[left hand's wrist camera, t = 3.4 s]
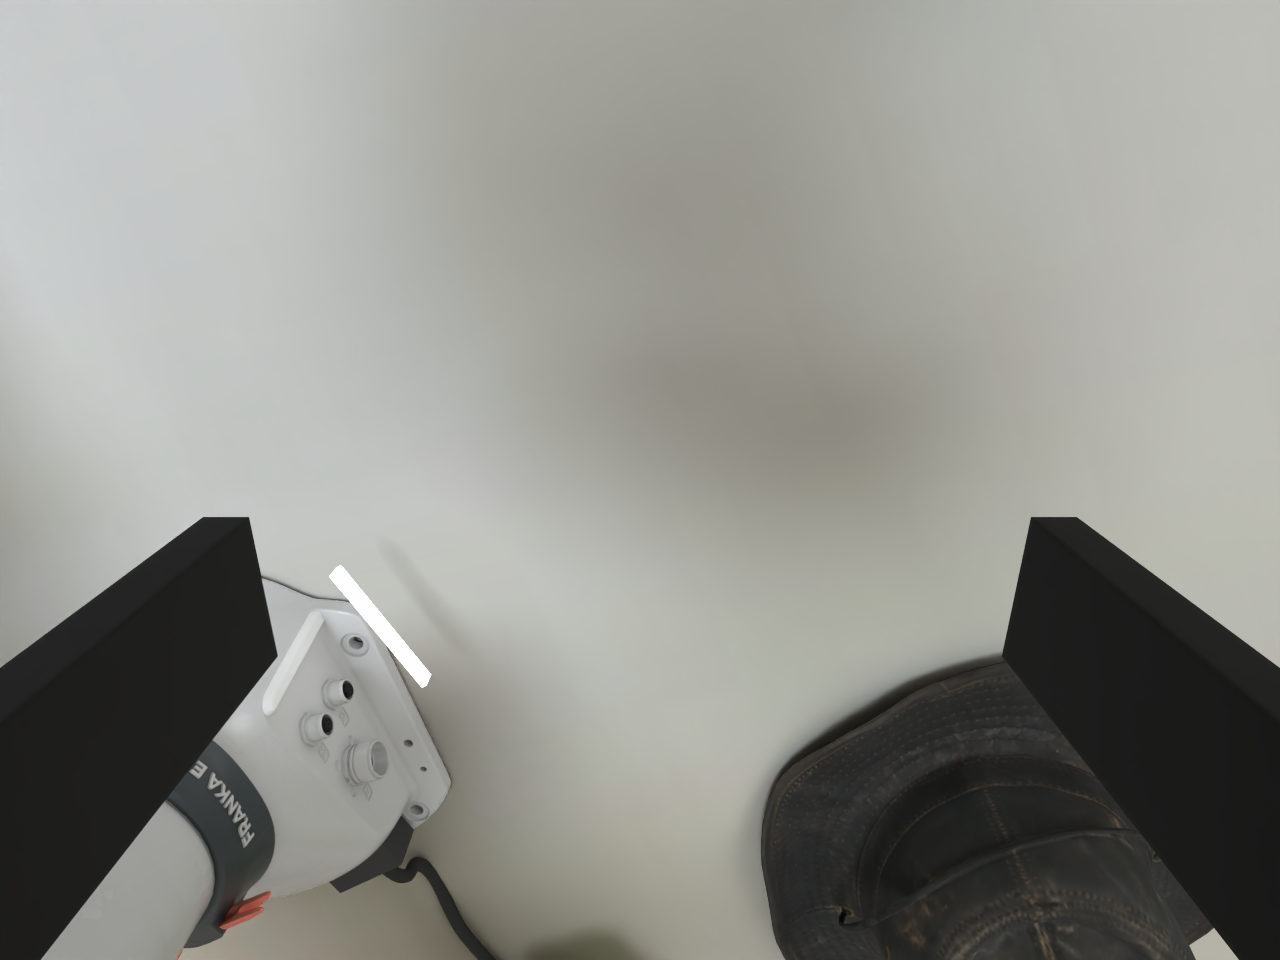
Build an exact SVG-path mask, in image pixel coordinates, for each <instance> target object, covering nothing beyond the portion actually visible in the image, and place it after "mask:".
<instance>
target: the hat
mask: <svg viewBox="0 0 1280 960" xmlns="http://www.w3.org/2000/svg"><path fill="white" fill-rule="evenodd" d="M761 862H762V869H763V875H764V880H765V885H766V890H767V896H768V901H769V907H770V913H771V920H772V927H773V932H774V935H775V939H776V942H777V944H778V946H779V948H780V950H781V952H782V954H783V956H784V958H785V959H786V960H1196V959H1195V957H1194V955H1193V953H1192V951H1191V948H1190V946H1189V945H1190V944H1192V943H1193V942H1195V941H1196V940H1198V939H1199V938H1201V937H1202V936H1204V935H1205V934H1207V933H1208V932H1209V931H1211V930H1212V929H1213V928H1214V927H1213V926H1212V924H1211V923H1210V922H1209V921H1208V919H1207V918H1206V917H1205V915H1204V914H1203V913H1202V912H1201V910H1200V909H1199V908H1198V906H1197V905H1196V904H1195V903H1194V901H1193V900H1192V899H1191V898H1190V896H1189V895H1188V894H1187V892H1186V891H1185V890H1184V889H1183V887H1182V886H1181V885H1180V883H1179V882H1178V881H1177V880H1176V878H1175V877H1174V876H1173V874H1172V873H1171V872H1170V871H1169V869H1168V868H1167V867H1166V866H1165V864H1164V863H1163V862H1162V860H1161V859H1160V858H1159V857H1158V855H1157V854H1156V853H1155V851H1154V850H1153V849H1152V848H1151V846H1150V845H1149V844H1148V842H1147V841H1146V840H1145V839H1144V837H1143V836H1142V835H1141V834H1140V832H1139V831H1138V830H1137V828H1136V827H1135V826H1134V825H1133V823H1132V822H1131V821H1130V819H1129V818H1128V817H1127V816H1126V814H1125V813H1124V812H1123V810H1122V809H1121V808H1120V807H1119V805H1118V804H1117V803H1116V801H1115V800H1114V799H1113V798H1112V796H1111V795H1110V794H1109V793H1108V791H1107V790H1106V789H1105V787H1104V786H1103V785H1102V784H1101V782H1100V781H1099V780H1098V778H1097V777H1096V776H1095V775H1094V773H1093V772H1092V771H1091V769H1090V768H1089V767H1088V766H1087V764H1086V763H1085V762H1084V761H1083V759H1082V758H1081V757H1080V755H1079V754H1078V753H1077V752H1076V750H1075V749H1074V748H1073V746H1072V745H1071V744H1070V743H1069V741H1068V740H1067V739H1066V737H1065V736H1064V735H1063V734H1062V732H1061V731H1060V730H1059V729H1058V727H1057V726H1056V725H1055V723H1054V722H1053V721H1052V720H1051V718H1050V717H1049V716H1048V714H1047V713H1046V712H1045V711H1044V709H1043V708H1042V707H1041V705H1040V704H1039V703H1038V702H1037V700H1036V699H1035V698H1034V697H1033V695H1032V694H1031V693H1030V691H1029V690H1028V689H1027V688H1026V686H1025V685H1024V684H1023V682H1022V681H1021V680H1020V679H1019V677H1018V676H1017V675H1016V673H1015V672H1014V671H1013V670H1012V668H1011V667H1010V666H1009V665H1008V663H1007V662H1003V663H999V664H995V665H991V666H986V667H982V668H978V669H975V670H972V671H969V672H965V673H962V674H959V675H956V676H953V677H950V678H948V679H945V680H943V681H939V682H935V683H933V684H931V685H928V686H925V687H923V688H921V689H919V690H917V691H915V692H913V693H911V694H910V695H908V696H907V697H905V698H904V699H902V700H901V701H899V702H898V703H896V704H895V705H894V706H892V707H891V708H889V709H888V710H886V711H885V712H883V713H881V714H879V715H878V716H876V717H874V718H873V719H871V720H870V721H868V722H866V723H865V724H863V725H861V726H859V727H857V728H855V729H854V730H852V731H850V732H848V733H846V734H844V735H843V736H841V737H840V738H838V739H836V740H835V741H833V742H831V743H830V744H828V745H826V746H824V747H823V748H821V749H819V750H817V751H814V752H812V753H811V754H809V755H807V756H806V757H804V758H802V759H801V760H800V761H798V762H797V763H795V764H794V765H793V766H792V767H791V768H789V769H788V770H787V771H786V772H785V773H784V774H783V775H782V776H781V777H780V779H779V780H778V782H777V783H776V785H775V787H774V789H773V791H772V793H771V795H770V797H769V801H768V804H767V808H766V812H765V816H764V820H763V828H762V838H761Z"/></svg>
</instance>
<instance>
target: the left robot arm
mask: <svg viewBox="0 0 1280 960" xmlns="http://www.w3.org/2000/svg"><path fill="white" fill-rule="evenodd" d="M277 657H278V654H277V649H276V644H275V640H274V635H273V630H272V625H271V621H270V616H269V611H268V606H267V601H266V597H265V592H264V587H263V582H262V578H261V573H260V568H259V563H258V558H257V554H256V549H255V544H254V539H253V535H252V530H251V525H250V520H249V517H203V518H201V519H200V520H199V521H197V522H196V523H195V524H193V525H192V526H191V527H189V528H188V529H187V530H185V531H184V532H183V533H181V534H180V535H179V536H177V537H176V538H175V539H173V540H172V541H171V542H169V543H168V544H166V545H165V546H164V547H162V548H161V549H160V550H158V551H157V552H156V553H154V554H153V555H152V556H150V557H149V558H148V559H146V560H145V561H144V562H142V563H141V564H140V565H138V566H137V567H136V568H134V569H133V570H131V571H130V572H129V573H127V574H126V575H125V576H123V577H122V578H121V579H119V580H118V581H117V582H115V583H114V584H113V585H111V586H110V587H109V588H107V589H106V590H105V591H103V592H102V593H101V594H99V595H98V596H96V597H95V598H94V599H92V600H91V601H90V602H88V603H87V604H86V605H84V606H83V607H82V608H80V609H79V610H78V611H76V612H75V613H74V614H72V615H71V616H70V617H68V618H67V619H66V620H64V621H63V622H61V623H60V624H59V625H57V626H56V627H55V628H53V629H52V630H51V631H49V632H48V633H47V634H45V635H44V636H43V637H41V638H40V639H39V640H37V641H36V642H35V643H33V644H32V645H31V646H29V647H28V648H26V649H25V650H24V651H22V652H21V653H20V654H18V655H17V656H16V657H14V658H13V659H12V660H10V661H9V662H8V663H6V664H5V665H4V666H2V667H1V668H0V960H41V959H42V958H43V956H44V955H45V954H46V953H47V951H48V950H49V949H50V947H51V946H52V945H53V944H54V942H55V941H56V940H57V938H58V937H59V936H60V935H61V933H62V932H63V931H64V930H65V928H66V927H67V926H68V924H69V923H70V922H71V921H72V919H73V918H74V917H75V915H76V914H77V913H78V912H79V910H80V909H81V908H82V906H83V905H84V904H85V903H86V901H87V900H88V899H89V898H90V896H91V895H92V894H93V892H94V891H95V890H96V889H97V887H98V886H99V885H100V883H101V882H102V881H103V880H104V878H105V877H106V876H107V874H108V873H109V872H110V871H111V869H112V868H113V867H114V866H115V864H116V863H117V862H118V860H119V859H120V858H121V857H122V855H123V854H124V853H125V851H126V850H127V849H128V848H129V846H130V845H131V844H132V842H133V841H134V840H135V839H136V837H137V836H138V835H139V834H140V832H141V831H142V830H143V828H144V827H145V826H146V825H147V823H148V822H149V821H150V819H151V818H152V817H153V816H154V814H155V813H156V812H157V810H158V809H159V808H160V807H161V805H162V804H163V803H164V801H165V800H166V799H167V798H168V796H169V795H170V794H171V793H172V791H173V790H174V789H175V787H176V786H177V785H178V784H179V782H180V781H181V780H182V778H183V777H184V776H185V775H186V773H187V772H188V771H189V769H190V768H191V767H192V766H193V764H194V763H195V762H196V761H197V759H198V758H199V757H200V755H201V754H202V753H203V752H204V750H205V749H206V748H207V746H208V745H209V744H210V743H211V741H212V740H213V739H214V737H215V736H216V735H217V734H218V732H219V731H220V730H221V729H222V727H223V726H224V725H225V723H226V722H227V721H228V720H229V718H230V717H231V716H232V714H233V713H234V712H235V711H236V709H237V708H238V707H239V705H240V704H241V703H242V702H243V700H244V699H245V698H246V697H247V695H248V694H249V693H250V691H251V690H252V689H253V688H254V686H255V685H256V684H257V682H258V681H259V680H260V679H261V677H262V676H263V675H264V673H265V672H266V671H267V670H268V668H269V667H270V666H271V664H272V663H273V662H274V661H275V659H276V658H277ZM1002 657H1003V658H1004V659H1005V661H1006V662H1007V663H1008V665H1009V666H1010V667H1011V668H1012V670H1013V671H1014V672H1015V673H1016V675H1017V676H1018V677H1019V679H1020V680H1021V681H1022V682H1023V684H1024V685H1025V686H1026V688H1027V689H1028V690H1029V691H1030V693H1031V694H1032V695H1033V697H1034V698H1035V699H1036V700H1037V702H1038V703H1039V704H1040V705H1041V707H1042V708H1043V709H1044V711H1045V712H1046V713H1047V714H1048V716H1049V717H1050V718H1051V720H1052V721H1053V722H1054V723H1055V725H1056V726H1057V727H1058V729H1059V730H1060V731H1061V732H1062V734H1063V735H1064V736H1065V737H1066V739H1067V740H1068V741H1069V743H1070V744H1071V745H1072V746H1073V748H1074V749H1075V750H1076V752H1077V753H1078V754H1079V755H1080V757H1081V758H1082V759H1083V761H1084V762H1085V763H1086V764H1087V766H1088V767H1089V768H1090V769H1091V771H1092V772H1093V773H1094V775H1095V776H1096V777H1097V778H1098V780H1099V781H1100V782H1101V784H1102V785H1103V786H1104V787H1105V789H1106V790H1107V791H1108V793H1109V794H1110V795H1111V796H1112V798H1113V799H1114V800H1115V801H1116V803H1117V804H1118V805H1119V807H1120V808H1121V809H1122V810H1123V812H1124V813H1125V814H1126V816H1127V817H1128V818H1129V819H1130V821H1131V822H1132V823H1133V825H1134V826H1135V827H1136V828H1137V830H1138V831H1139V832H1140V834H1141V835H1142V836H1143V837H1144V839H1145V840H1146V841H1147V842H1148V844H1149V845H1150V846H1151V848H1152V849H1153V850H1154V851H1155V853H1156V854H1157V855H1158V857H1159V858H1160V859H1161V860H1162V862H1163V863H1164V864H1165V866H1166V867H1167V868H1168V869H1169V871H1170V872H1171V873H1172V874H1173V876H1174V877H1175V878H1176V880H1177V881H1178V882H1179V883H1180V885H1181V886H1182V887H1183V889H1184V890H1185V891H1186V892H1187V894H1188V895H1189V896H1190V898H1191V899H1192V900H1193V901H1194V903H1195V904H1196V905H1197V906H1198V908H1199V909H1200V910H1201V912H1202V913H1203V914H1204V915H1205V917H1206V918H1207V919H1208V921H1209V922H1210V923H1211V924H1212V926H1213V927H1214V928H1215V930H1216V931H1217V932H1218V933H1219V935H1220V936H1221V937H1222V938H1223V940H1224V941H1225V942H1226V944H1227V945H1228V946H1229V947H1230V949H1231V950H1232V951H1233V953H1234V954H1235V955H1236V956H1237V958H1238V959H1239V960H1280V668H1279V667H1278V666H1276V665H1275V664H1274V663H1272V662H1271V661H1270V660H1268V659H1267V658H1266V657H1264V656H1263V655H1262V654H1260V653H1259V652H1258V651H1256V650H1255V649H1254V648H1252V647H1251V646H1249V645H1248V644H1247V643H1245V642H1244V641H1243V640H1241V639H1240V638H1239V637H1237V636H1236V635H1235V634H1233V633H1232V632H1231V631H1229V630H1228V629H1227V628H1225V627H1224V626H1223V625H1221V624H1220V623H1219V622H1217V621H1216V620H1214V619H1213V618H1212V617H1210V616H1209V615H1208V614H1206V613H1205V612H1204V611H1202V610H1201V609H1200V608H1198V607H1197V606H1196V605H1194V604H1193V603H1192V602H1190V601H1189V600H1188V599H1186V598H1185V597H1184V596H1182V595H1181V594H1179V593H1178V592H1177V591H1175V590H1174V589H1173V588H1171V587H1170V586H1169V585H1167V584H1166V583H1165V582H1163V581H1162V580H1161V579H1159V578H1158V577H1157V576H1155V575H1154V574H1153V573H1151V572H1150V571H1149V570H1147V569H1146V568H1144V567H1143V566H1142V565H1140V564H1139V563H1138V562H1136V561H1135V560H1134V559H1132V558H1131V557H1130V556H1128V555H1127V554H1126V553H1124V552H1123V551H1122V550H1120V549H1119V548H1118V547H1116V546H1115V545H1114V544H1112V543H1111V542H1109V541H1108V540H1107V539H1105V538H1104V537H1103V536H1101V535H1100V534H1099V533H1097V532H1096V531H1095V530H1093V529H1092V528H1091V527H1089V526H1088V525H1087V524H1085V523H1084V522H1083V521H1081V520H1080V519H1079V518H1077V517H1031V520H1030V525H1029V530H1028V535H1027V539H1026V544H1025V549H1024V554H1023V558H1022V563H1021V568H1020V573H1019V578H1018V582H1017V587H1016V592H1015V597H1014V601H1013V606H1012V611H1011V616H1010V621H1009V625H1008V630H1007V635H1006V640H1005V644H1004V649H1003V654H1002Z"/></svg>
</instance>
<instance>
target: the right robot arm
mask: <svg viewBox="0 0 1280 960" xmlns="http://www.w3.org/2000/svg"><path fill="white" fill-rule="evenodd" d="M329 577H330V578H331V579H332V580H333V582H334V583H335V584H336V585H337V586H338V588H339V589H340V590H341V591H342V592H343V594H344V595H345V596H346V597H347V598H348V600H349V601H350V602H345V601H338V600H327V599H315V598H312V597H309V596H306V595H303V594H301V593H298V592H296V591H294V590H292V589H290V588H287V587H285V586H283V585H280V584H278V583H275V582H273V581H269V580H266V579H263V578H262V582H263V587H264V592H265V597H266V601H267V606H268V611H269V616H270V621H271V625H272V630H273V635H274V640H275V644H276V649H277V654H278V657H277V658H276V659H275V661H274V662H273V663H272V664H271V666H270V667H269V668H268V670H267V671H266V672H265V673H264V675H263V676H262V677H261V679H260V680H259V681H258V682H257V684H256V685H255V686H254V688H253V689H252V690H251V691H250V693H249V694H248V695H247V697H246V698H245V699H244V700H243V702H242V703H241V704H240V705H239V707H238V708H237V709H236V711H235V712H234V713H233V714H232V716H231V717H230V718H229V720H228V721H227V722H226V723H225V725H224V726H223V727H222V729H221V730H220V731H219V732H218V734H217V735H216V736H215V737H214V739H213V740H212V741H211V743H210V744H209V745H208V746H207V748H206V749H205V750H204V752H203V753H202V754H201V755H200V757H199V758H198V759H197V761H196V762H195V763H194V764H193V766H192V767H191V768H190V769H189V771H188V772H187V773H186V775H185V776H184V777H183V778H182V780H181V781H180V782H179V784H178V785H177V786H176V787H175V789H174V790H173V791H172V793H171V794H170V795H169V796H168V798H167V799H166V800H165V801H164V803H163V804H162V805H161V807H160V808H159V809H158V810H157V812H156V813H155V814H154V816H153V817H152V818H151V819H150V821H149V822H148V823H147V825H146V826H145V827H144V828H143V830H142V831H141V832H140V834H139V835H138V836H137V837H136V839H135V840H134V841H133V842H132V844H131V845H130V846H129V848H128V849H127V850H126V851H125V853H124V854H123V855H122V857H121V858H120V859H119V860H118V862H117V863H116V864H115V866H114V867H113V868H112V869H111V871H110V872H109V873H108V874H107V876H106V877H105V878H104V880H103V881H102V882H101V883H100V885H99V886H98V887H97V889H96V890H95V891H94V892H93V894H92V895H91V896H90V898H89V899H88V900H87V901H86V903H85V904H84V905H83V906H82V908H81V909H80V910H79V912H78V913H77V914H76V915H75V917H74V918H73V919H72V921H71V922H70V923H69V924H68V926H67V927H66V928H65V930H64V931H63V932H62V933H61V935H60V936H59V937H58V938H57V940H56V941H55V942H54V944H53V945H52V946H51V947H50V949H49V950H48V951H47V953H46V954H45V955H44V956H43V958H42V959H41V960H177V959H178V958H179V957H180V954H181V952H182V949H183V948H194V947H199V946H202V945H205V944H207V943H210V942H212V941H215V940H217V939H219V938H221V937H222V936H223V934H224V933H225V931H226V930H227V928H230V927H232V926H235V925H237V924H240V923H242V922H245V921H247V920H249V919H251V918H253V917H254V916H256V915H258V914H259V913H261V912H262V911H263V910H264V908H263V907H259V906H260V905H261V904H262V903H263V902H265V901H266V900H270V899H278V898H282V897H287V896H291V895H295V894H298V893H301V892H304V891H307V890H310V889H313V888H315V887H318V886H321V885H323V884H325V883H328V882H330V883H331V884H332V885H333V886H334V887H335V888H336V889H337V890H338V891H339V892H340V893H341V892H344V891H346V890H348V889H350V888H352V887H354V886H357V885H359V884H361V883H363V882H365V881H368V880H370V879H372V878H374V877H376V876H378V875H381V874H383V875H385V876H386V877H388V878H389V879H391V880H393V881H395V882H397V883H406V882H409V881H411V880H412V879H413V878H414V877H415V875H416V873H417V871H418V872H421V873H422V874H423V875H424V876H425V877H426V878H427V879H428V881H429V882H430V884H431V885H432V887H433V889H434V891H435V893H436V895H437V897H438V899H439V902H440V904H441V906H442V908H443V910H444V912H445V915H446V917H447V919H448V920H449V922H450V924H451V926H452V928H453V929H454V931H455V933H456V934H457V935H458V937H459V938H460V939H461V941H462V942H463V943H464V944H465V945H466V947H467V948H468V949H469V950H470V951H471V952H472V954H473V955H474V956H475V957H476V958H477V959H478V960H496V959H495V958H494V957H493V956H492V955H491V954H490V953H489V952H488V951H487V950H486V949H485V947H484V946H483V945H482V944H481V943H480V942H479V940H478V939H477V938H476V937H475V936H474V934H473V933H472V932H471V931H470V930H469V928H468V927H467V925H466V924H465V922H464V921H463V919H462V917H461V916H460V914H459V912H458V910H457V908H456V906H455V904H454V902H453V899H452V897H451V895H450V894H449V892H448V890H447V888H446V886H445V884H444V883H443V881H442V880H441V878H440V877H439V875H438V873H437V872H436V870H435V869H434V868H433V866H432V865H431V864H430V863H429V862H428V861H427V860H425V859H422V858H419V857H416V858H413V859H411V860H410V861H409V863H408V865H407V867H406V869H401V868H399V867H398V866H400V865H402V862H403V859H404V856H405V854H406V851H407V848H408V845H409V842H410V839H411V837H412V834H413V831H414V829H415V828H416V827H418V826H419V825H421V824H422V823H423V822H424V821H426V820H427V819H428V818H429V817H430V816H431V815H432V814H433V813H434V812H435V811H436V810H437V809H438V808H439V806H440V805H441V803H442V802H443V800H444V799H445V797H446V795H447V793H448V791H449V789H450V786H451V780H450V777H449V775H448V772H447V770H446V768H445V766H444V764H443V762H442V760H441V758H440V756H439V754H438V752H437V749H436V747H435V745H434V743H433V741H432V739H431V737H430V735H429V733H428V731H427V729H426V727H425V725H424V723H423V721H422V719H421V717H420V714H419V712H418V710H417V708H416V706H415V704H414V702H413V700H412V698H411V696H410V694H409V692H408V690H407V688H406V686H405V684H404V681H403V679H402V677H401V675H400V673H399V671H398V669H397V667H396V665H395V663H394V661H393V659H392V657H391V655H390V653H389V651H388V649H387V646H388V647H389V649H390V650H391V651H392V652H393V653H394V655H395V656H396V657H397V658H398V659H399V661H400V662H401V663H402V664H403V665H404V667H405V668H406V669H407V670H408V671H409V673H410V674H411V675H412V676H413V677H414V679H415V680H416V681H417V682H418V683H419V685H420V686H421V687H424V686H426V685H427V683H428V681H429V678H430V676H431V674H430V673H429V672H428V670H427V669H426V668H425V667H424V665H423V664H422V663H421V662H420V661H419V659H418V658H417V657H416V656H415V655H414V653H413V652H412V651H411V650H410V648H409V647H408V646H407V645H406V644H405V642H404V641H403V640H402V639H401V638H400V636H399V635H398V634H397V633H396V631H395V630H394V629H393V628H392V627H391V625H390V624H389V623H388V622H387V621H386V619H385V618H384V617H383V616H382V614H381V613H380V612H379V611H378V610H377V608H376V607H375V606H374V605H373V604H372V602H371V601H370V600H369V599H368V597H367V596H366V595H365V594H364V593H363V591H362V590H361V589H360V588H359V587H358V585H357V584H356V583H355V582H354V580H353V579H352V578H351V577H350V576H349V574H348V573H347V572H346V571H345V570H344V568H343V567H342V566H339V567H337V568H336V569H335V570H334V572H333V573H332V574H331V575H330V576H329ZM353 637H358V638H360V639H361V640H362V641H363V642H362V643H361V642H357V641H356V640H355V639H354V638H353ZM386 645H387V646H386ZM416 805H419V806H421V807H419V806H416ZM243 900H244V901H243Z"/></svg>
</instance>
